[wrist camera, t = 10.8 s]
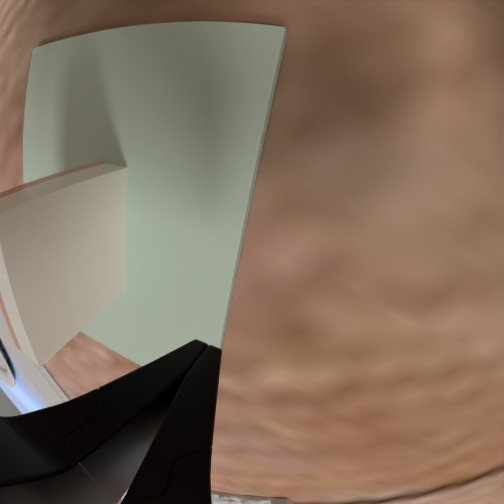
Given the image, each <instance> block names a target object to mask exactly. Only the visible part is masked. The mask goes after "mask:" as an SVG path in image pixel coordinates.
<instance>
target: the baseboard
mask: <svg viewBox="0 0 504 504" xmlns="http://www.w3.org/2000/svg"><path fill="white" fill-rule="evenodd" d="M0 338H1V339H2V341H3V343H4V344H5V346H6V347H7V349H8V350H9V352H10V354H11V355H12V357H13V358H14V360H15V361H16V363H17V364H18V366H19V367H20V368H21V370H22V371H23V373H24V374H25V375H26V377H27V378H28V380H29V381H30V382H31V384H32V385H33V386H34V388H35V389H36V390H37V391H38V393H39V394H40V395H41V396H42V398H43V399H44V400H45V401H46V403H47V404H48V405H49V406H50V407H51V406H54V405H57V404H60V403H63V402H66V401H69V400H71V399H70V397H69V396H68V395H67V394H66V392H65V391H64V390H63V389H62V387H61V386H60V385H59V384H58V382H57V381H56V380H55V378H54V377H53V376H52V374H51V373H50V372H49V370H48V369H47V367H46V366H45V365H43V366H41V367H39V366H38V365H36V364H35V363H34V362H33V361H32V360H31V359H30V358H28V357H27V356H26V355H25V354H24V353H23V352H22V351H21V350H20V349H19V348H17V347H16V345H15V343H14V341H13V338H12V336H11V333H10V331H9V328H8V326H7V323H6V320H5V318H4V315H3V312H2V309H1V306H0Z"/></svg>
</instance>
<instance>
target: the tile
mask: <svg viewBox="0 0 504 504" xmlns="http://www.w3.org/2000/svg"><path fill="white" fill-rule="evenodd" d="M127 169H128V167H123V166H118V165H114V164H109V163H104V162H99V161H98V162H94V163H90V164H86V165H83V166H79V167H76V168H72V169H69V170H65V171H62V172H59V173H56V174H52V175H49V176H46V177H43V178H40V179H37V180H34V181H31V182H28V183H25V184H23V185H20V186H17V187H14V188H12V189H9V190H6V191H4V192H1V193H0V306H1V309H2V312H3V315H4V318H5V320H6V323H7V326H8V328H9V331H10V333H11V336H12V338H13V341H14V343H15V345H16V347H17V348H19V349H20V350H21V351H22V352H23V353H24V354H25V355H26V356H27V357H28V358H30V359H31V360H32V361H33V362H34V363H35V364H36V365H38V366H39V367H41V366H43V365H44V364H45V363H46V362H47V361H48V360H49V359H50V358H51V357H52V356H53V355H54V354H55V353H57V352H58V351H59V350H60V349H61V348H62V347H63V346H64V345H65V344H66V343H68V342H69V341H70V340H71V339H72V338H73V337H74V336H75V335H76V334H78V333H79V332H80V331H81V330H82V329H83V328H84V327H85V326H87V325H88V324H89V323H90V322H91V321H92V320H93V319H95V318H96V317H97V316H98V315H99V314H100V313H102V312H103V311H104V310H105V309H106V308H107V307H109V306H110V305H111V304H112V303H113V302H114V301H116V300H117V299H118V298H119V297H120V296H121V295H123V294H124V293H125V292H126V268H125V208H126V185H127Z"/></svg>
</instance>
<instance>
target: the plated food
mask: <svg viewBox="0 0 504 504" xmlns="http://www.w3.org/2000/svg"><path fill="white" fill-rule="evenodd" d="M0 378H1V379H2V380H3V381H4V382H5V383H6V384H7V385H9V386H11V387H14V386H15V379H14V377H13V375H12V372H11V370H10V368H9V366H8V362H7V360H6V357H5V355H4V353H3V350H2V348H1V346H0Z"/></svg>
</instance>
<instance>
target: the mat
mask: <svg viewBox="0 0 504 504" xmlns="http://www.w3.org/2000/svg"><path fill="white" fill-rule="evenodd" d="M287 34H288V30H287V29H286V27H280V26H272V25H263V24H253V23H239V22H212V21H195V22H169V23H155V24H144V25H135V26H128V27H121V28H114V29H108V30H103V31H97V32H92V33H87V34H83V35H79V36H74V37H70V38H66V39H62V40H59V41H55V42H52V43H48V44H45V45H42V46H39V47H36V48H33V52H32V57H31V63H30V69H29V76H28V83H27V91H26V101H25V112H24V130H23V177H24V184H25V183H28V182H31V181H34V180H37V179H40V178H43V177H46V176H49V175H52V174H56V173H59V172H62V171H65V170H69V169H72V168H76V167H79V166H83V165H86V164H90V163H94V162H98V161H99V162H104V163H109V164H114V165H118V166H123V167H128V169H127V185H126V208H125V268H126V292H125V293H124V294H123V295H121V296H120V297H119V298H118V299H117V300H116V301H114V302H113V303H112V304H111V305H110V306H109V307H107V308H106V309H105V310H104V311H103V312H102V313H100V314H99V315H98V316H97V317H96V318H95V319H93V320H92V321H91V322H90V323H89V324H88V325H87V326H85V327H84V328H83V329H82V330H81V332H83V333H85V334H86V335H88V336H90V337H91V338H93V339H94V340H96V341H98V342H99V343H101V344H103V345H105V346H106V347H108V348H110V349H111V350H113V351H115V352H117V353H118V354H120V355H122V356H124V357H126V358H128V359H129V360H131V361H133V362H135V363H137V364H139V365H141V366H144V365H146V364H148V363H150V362H152V361H154V360H156V359H158V358H160V357H162V356H164V355H166V354H167V353H169V352H171V351H173V350H175V349H177V348H179V347H181V346H183V345H185V344H187V343H188V342H190V341H192V340H194V339H198V340H200V341H203V342H205V343H207V344H208V345H213V346H215V347H218V348H220V349H221V350H222V345H223V340H224V334H225V329H226V324H227V319H228V314H229V309H230V304H231V299H232V294H233V289H234V284H235V279H236V274H237V269H238V264H239V259H240V254H241V249H242V244H243V239H244V234H245V229H246V224H247V220H248V215H249V210H250V205H251V200H252V195H253V191H254V186H255V181H256V176H257V172H258V167H259V162H260V157H261V153H262V148H263V143H264V139H265V134H266V129H267V125H268V120H269V115H270V111H271V106H272V102H273V97H274V92H275V88H276V83H277V79H278V74H279V70H280V65H281V61H282V56H283V52H284V47H285V43H286V38H287Z"/></svg>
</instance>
